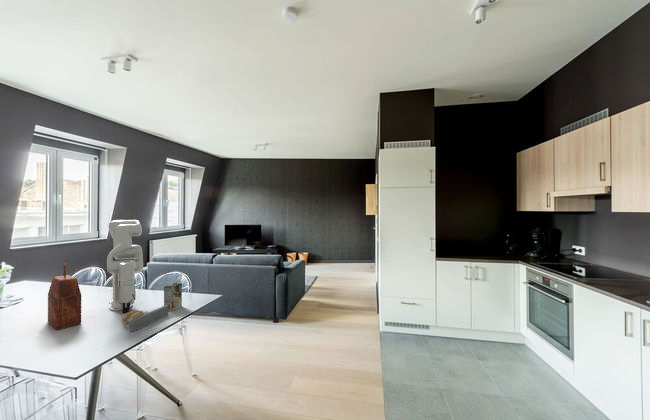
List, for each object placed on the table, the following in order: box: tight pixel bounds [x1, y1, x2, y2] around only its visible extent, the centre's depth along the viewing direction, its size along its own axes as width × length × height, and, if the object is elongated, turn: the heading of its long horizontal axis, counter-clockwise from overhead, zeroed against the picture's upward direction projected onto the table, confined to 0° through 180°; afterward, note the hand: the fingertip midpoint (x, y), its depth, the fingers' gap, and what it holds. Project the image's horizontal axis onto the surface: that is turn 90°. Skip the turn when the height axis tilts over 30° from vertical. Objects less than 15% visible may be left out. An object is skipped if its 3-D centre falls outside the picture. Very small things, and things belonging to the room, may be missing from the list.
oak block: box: [121, 309, 144, 325], centre depth 155 cm, size 7×7×5 cm
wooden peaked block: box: [47, 263, 82, 331], centre depth 151 cm, size 10×19×35 cm, turn 56°
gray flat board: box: [129, 304, 169, 333], centre depth 153 cm, size 2×24×6 cm, turn 169°
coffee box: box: [163, 282, 183, 312], centre depth 175 cm, size 9×6×16 cm
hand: (126, 313), depth 156 cm, fingers closed
